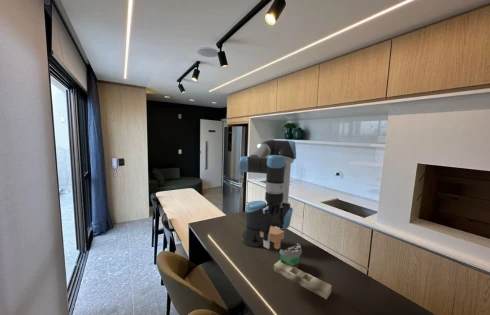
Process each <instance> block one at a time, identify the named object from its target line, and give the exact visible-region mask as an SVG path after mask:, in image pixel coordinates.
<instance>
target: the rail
mask: <svg viewBox="0 0 490 315" xmlns="http://www.w3.org/2000/svg"><path fill="white" fill-rule="evenodd" d="M273 271H274V272H276V273H277V274H279V275H282V276H283V277H284V276H285V278H286V279H288V280H289V281H291V282H294V283H295V284H296V285H297V284H298V285H299V286H300V287H303V288H304V289H306V290H308V291H310V292H312V293H313V294H315V295H318V296H320V297H322V299H323V298H324V300H328V298H329V296H330V295H331V293H332V287H333V286H332V285H333V284H332V285H331V284H330V283H327V282H325V281H323V280H321V278H317V277H315V276H313V275H312V274H310V273H307V272H305V271H303V270H301V269H299V268H298V269H297V268H295V267H293V266H291V265H286V264H284V263H282V262H281V260H280V259H279V260H278V261H276V263H274V264H273Z"/></svg>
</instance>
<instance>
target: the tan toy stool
mask: <svg viewBox="0 0 490 315" xmlns="http://www.w3.org/2000/svg"><path fill="white" fill-rule="evenodd" d="M269 233H270V243H273V244H274V245H273V249H276V250H280V249H281V244H282V243H281V241H282V240H283V239H284V238H285V231H284V230H283V229H277V228H275V227H272V226H270V230H269ZM263 234H264V233H263V232H260V236H261V237H263ZM263 243H264V240H263Z"/></svg>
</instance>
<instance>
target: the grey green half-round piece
mask: <svg viewBox="0 0 490 315" xmlns="http://www.w3.org/2000/svg"><path fill="white" fill-rule="evenodd" d="M278 253H279V255H280V257H279V258H280V259H279V260H281V262H282V263H284V264H286V265H291V266H293V267H295V268H297V269H299V263H300V258H301V255H302V254H303V250H302V247H301V245H300V244H299V243H298V242H296V244H295V245H291V246H288V247H286V248H284V249H281V248H279V252H278Z"/></svg>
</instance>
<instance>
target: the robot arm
mask: <svg viewBox="0 0 490 315" xmlns="http://www.w3.org/2000/svg"><path fill="white" fill-rule="evenodd" d="M295 142H296V141H294V140H288V139H287V140H279V139H278V140H277V139H276V140H275V139H269V140H266V141H263V142H260V143H258V144H257V146H256V147H255V150H254V151H253V152H252V153H251V154H250V155H249V156H241V157H240V159H239V161H238V162H239V163H238V167H239V170H240V172H244V173H251V174H252V173H253V174H266V179H265V196H264V200H265V201H263V200H252V201H249V202H248V203H247V204H246V207H245V226H244V229H243V233H242V235H241V241H242V243H243V244H244V245H247V246H249V247H252V248H253V247H257V248H258V247H262V246H263V247H264V248H266V249H267V250H269V249H270V248H271V246H270V245H271V241H270V233H269V230H270V226H272V227H275V228H277V229H280V230H282V229H288V228H290V225H291V221H292V216H293V210H294V209H293V207H291V203H290V202H289V194H290V180H291V166H292V163H294V160H296V159H297V151H296V150H297V149H296V143H295ZM260 232H263V233H264V234H263V237H261V236H260ZM263 240H264V243H263Z"/></svg>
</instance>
